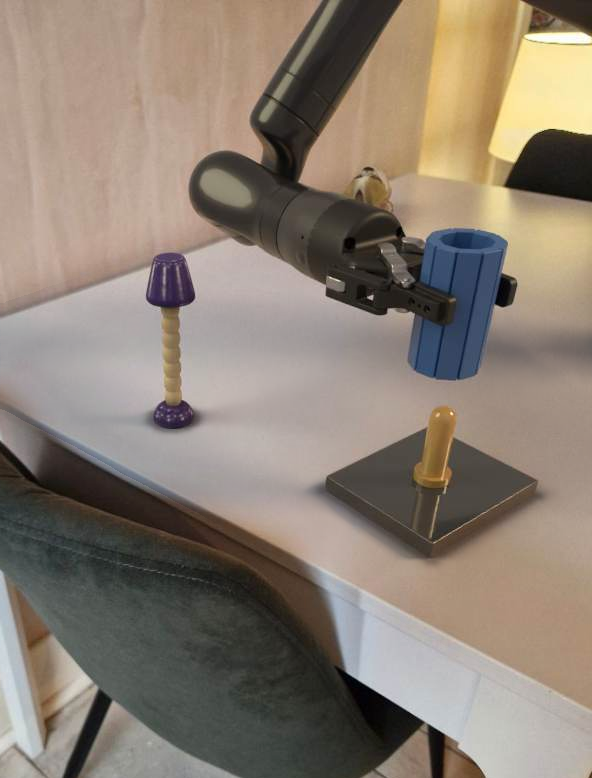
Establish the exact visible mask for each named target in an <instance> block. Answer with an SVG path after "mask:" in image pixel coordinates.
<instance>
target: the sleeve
mask: <svg viewBox="0 0 592 778" xmlns="http://www.w3.org/2000/svg"><path fill="white" fill-rule="evenodd" d="M425 243H426V244H425V250H424V256H423V263H422V269H421V276H420V282H423V283H425V284H428V285H430V286H432V287H435V288H437V289H439V290H442V291H444V292H446V293H449V294H451V295H453V296H454V297H455V298H456V301H457V304H456V310H455V315H454V320H453V322H452V323H451V324H449V325H446V326H440V325H437V324H435V323H433V322H431V321H429V320H427V319H425V318H423V317H421V316H418V315H416V314H414V313H413V314H414V315H413V321H412V328H411V333H410V334H411V336H410V341H409V347H408V353H407V363H408V366H410V368H411V369H412V370H413V371H414V372H416V373H417V374H420V375H422V376H425V377H428V378H430V379H435V380H439V381H440V380H441V381H457V380H458V381H462V380H465V379H470V378H472V377H475V376H476V375H478V373H479V371H480V369H481V368H482V364H483V359H484V355H485V350H486V345H487V341H488V337H489V332H490V328H491V323H492V318H493V315H494V310H495V306H496V305H495V301H496V296H497V292H498V287H499V283H500V278H501V274H502V273H503V270H504V265H505V260H506V256H507V251H508V248H509V247H508V246H509V242H508V240H506V239H505V238H504V237H502V236H501V235H500V234H497V233H494V232H490V231H488V230H487V231H486V230H482V229H475V228H461V227H453V228H445V229H440V230H434V231H432V232H431V233H430V234H429V235H428V236H427V237H426V238H425Z"/></svg>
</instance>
